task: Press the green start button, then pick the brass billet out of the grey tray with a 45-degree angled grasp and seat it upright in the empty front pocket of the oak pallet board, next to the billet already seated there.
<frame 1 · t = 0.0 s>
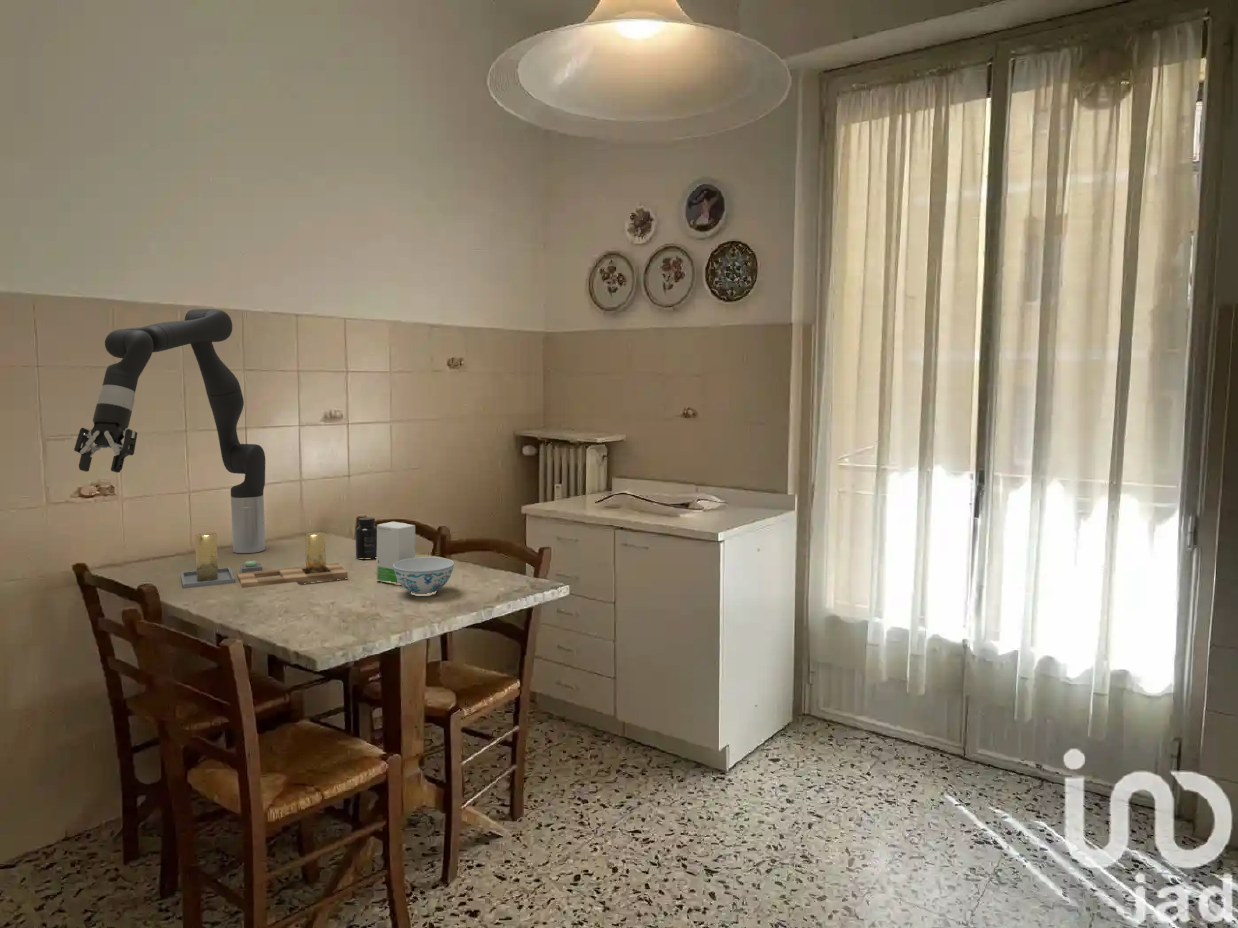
hand: (99, 471, 195), 31 cm above the table, tool tilted 20°, fingers open, 8 cm apart
chinaware: (424, 594, 209), on the table
skincare box: (396, 582, 220), on the table
billet: (207, 579, 216), point 1 cm above the table, touching grey tray
pallet: (292, 579, 220), on the table
button housing: (251, 574, 225), on the table
start button: (251, 563, 224), point 3 cm above the table, slide at 0.0 cm
grey tray: (207, 582, 216), on the table
seated billet: (316, 577, 223), resting in pallet
supplement bottle: (367, 558, 247), on the table
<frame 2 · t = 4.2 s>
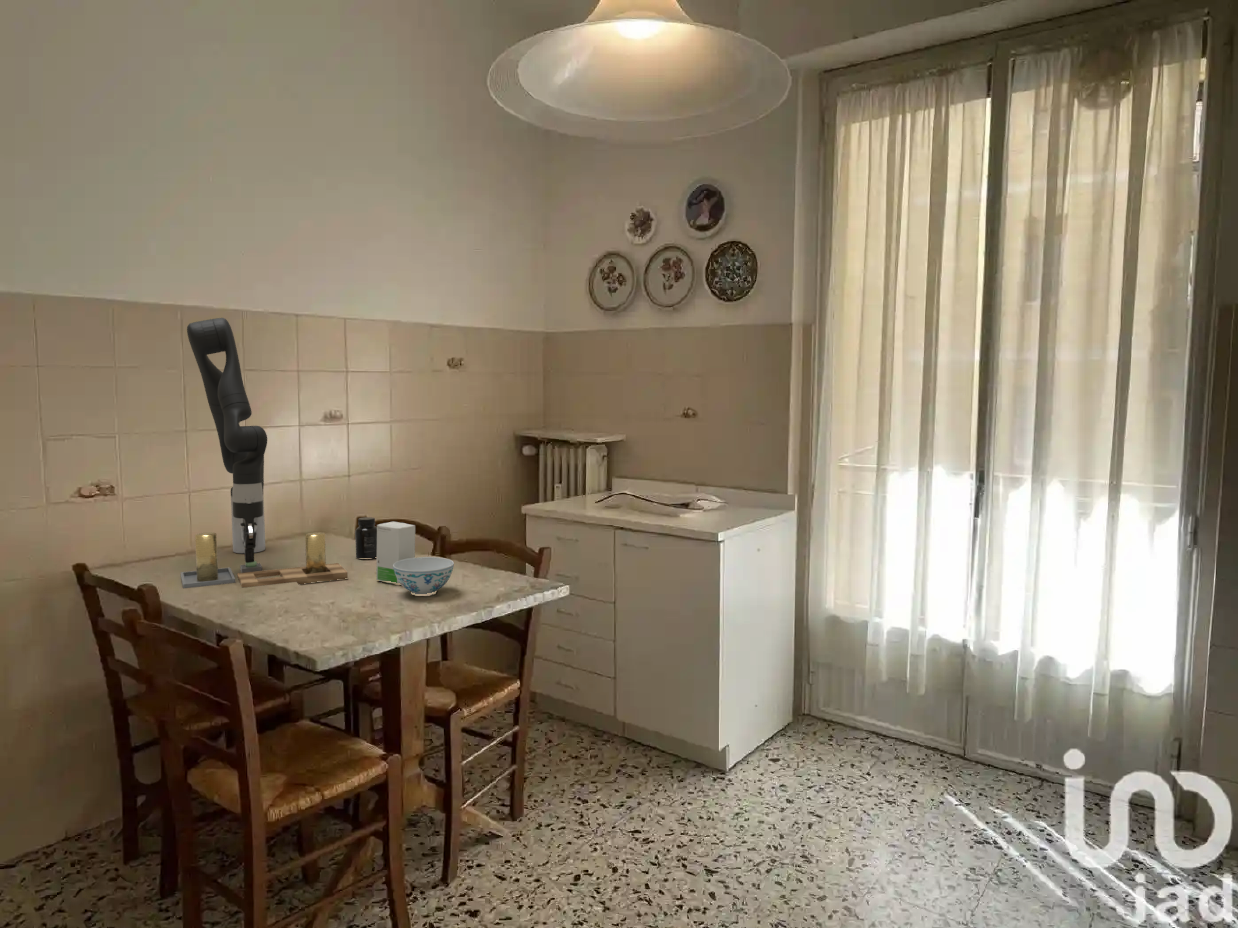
hand: (249, 562, 224), 4 cm above the table, tool pointing down, fingers closed
start button: (251, 563, 224), point 3 cm above the table, slide at 0.0 cm, touching button housing, gripper
everything else where it was.
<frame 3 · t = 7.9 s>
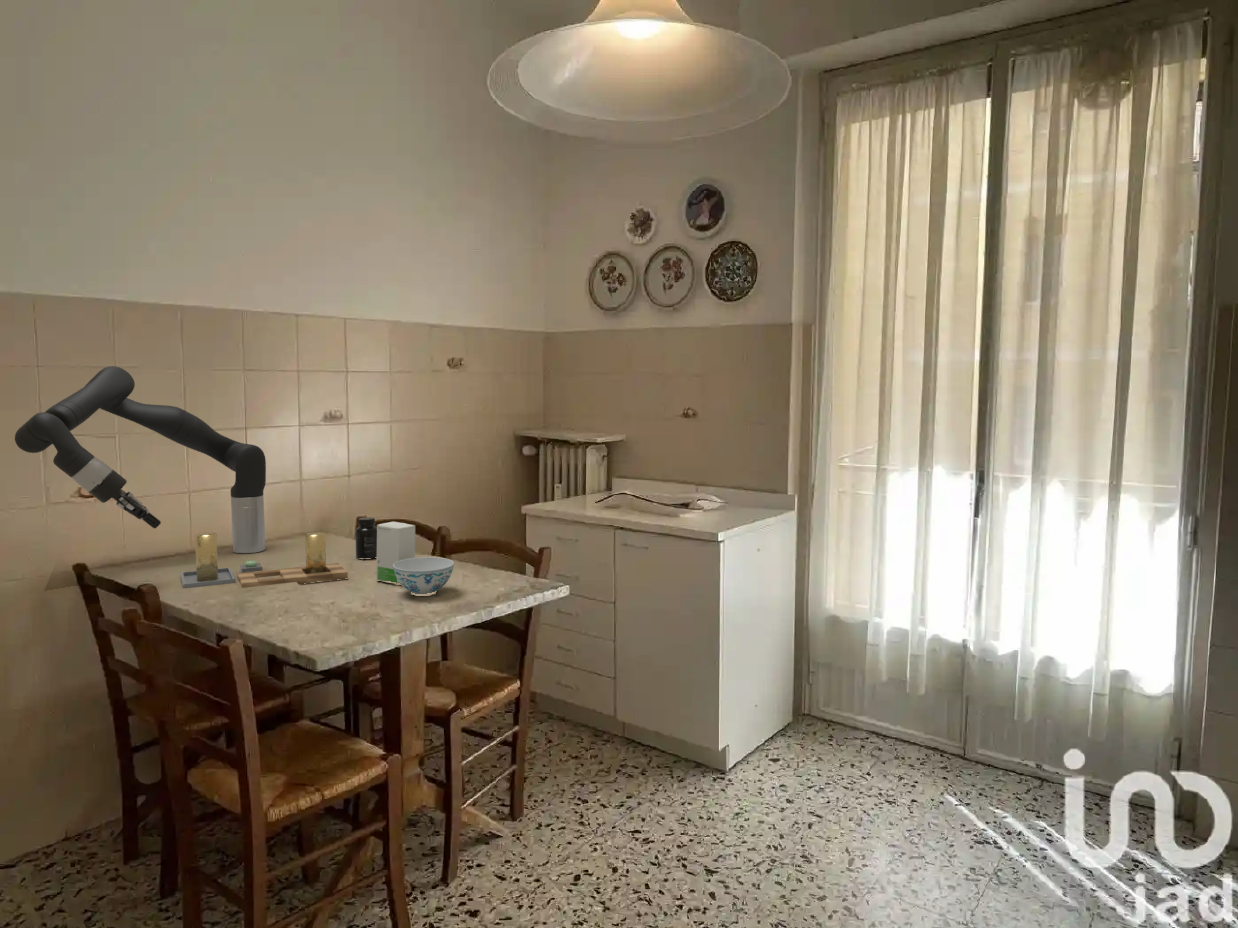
hand: (158, 525, 208), 16 cm above the table, tool tilted 45°, fingers closed
start button: (251, 563, 224), point 3 cm above the table, slide at 0.0 cm, touching button housing
everything else where it was.
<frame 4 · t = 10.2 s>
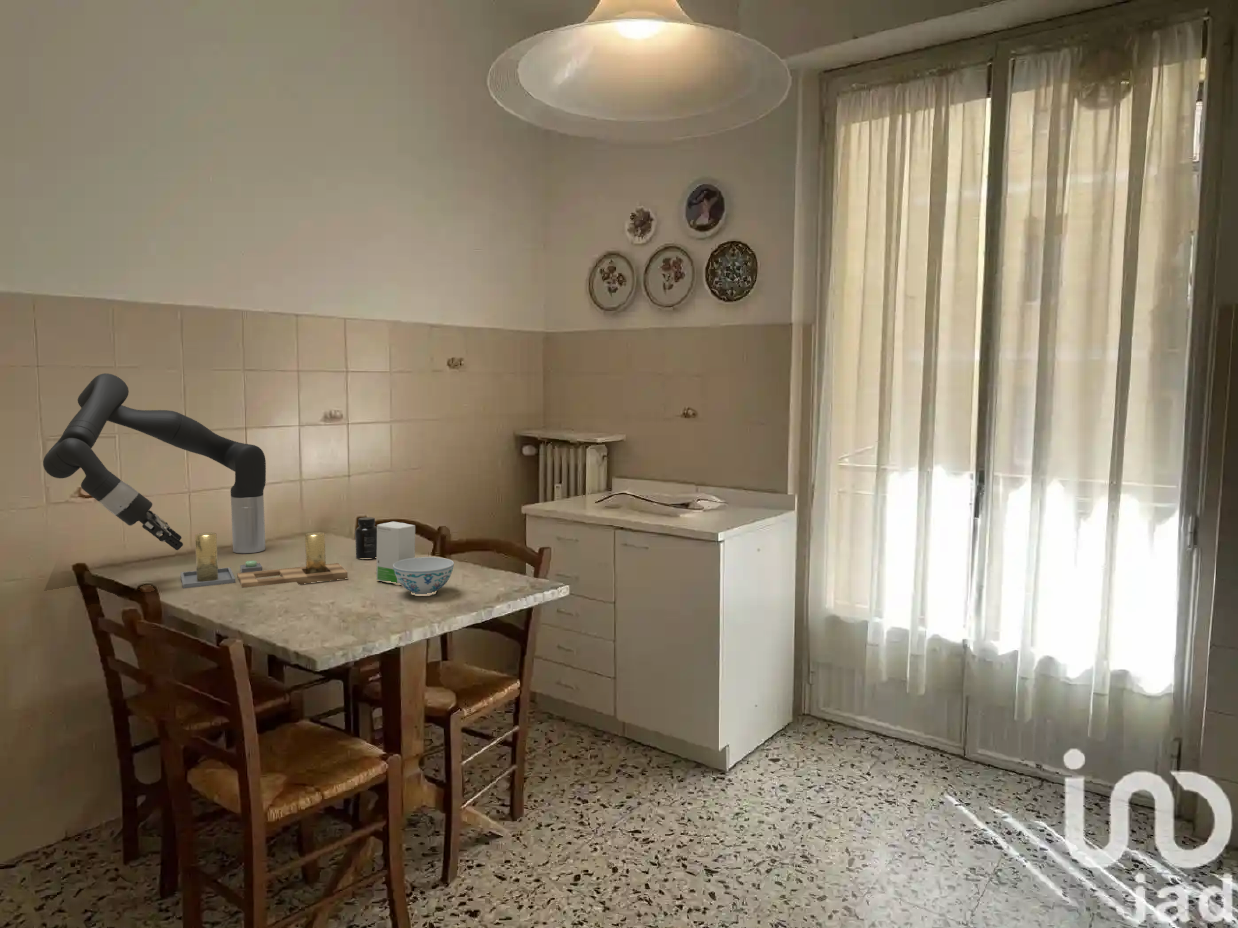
hand: (179, 543, 211), 11 cm above the table, tool tilted 45°, fingers open, 8 cm apart
nothing on the table moved.
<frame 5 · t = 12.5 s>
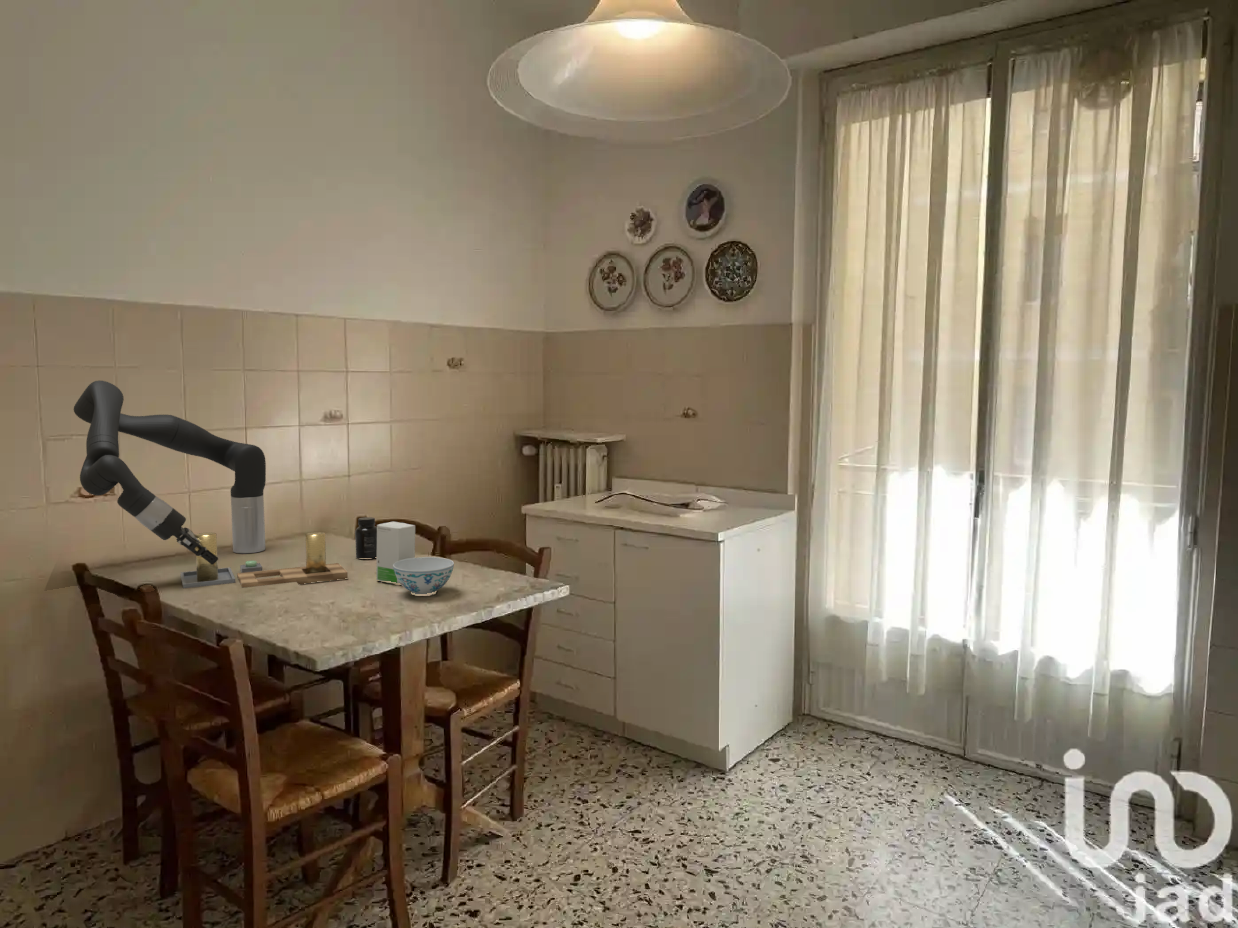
hand: (214, 559, 216), 6 cm above the table, tool tilted 45°, fingers closed on billet, 5 cm apart
billet: (207, 579, 216), point 1 cm above the table, touching gripper, grey tray
everything else where it was.
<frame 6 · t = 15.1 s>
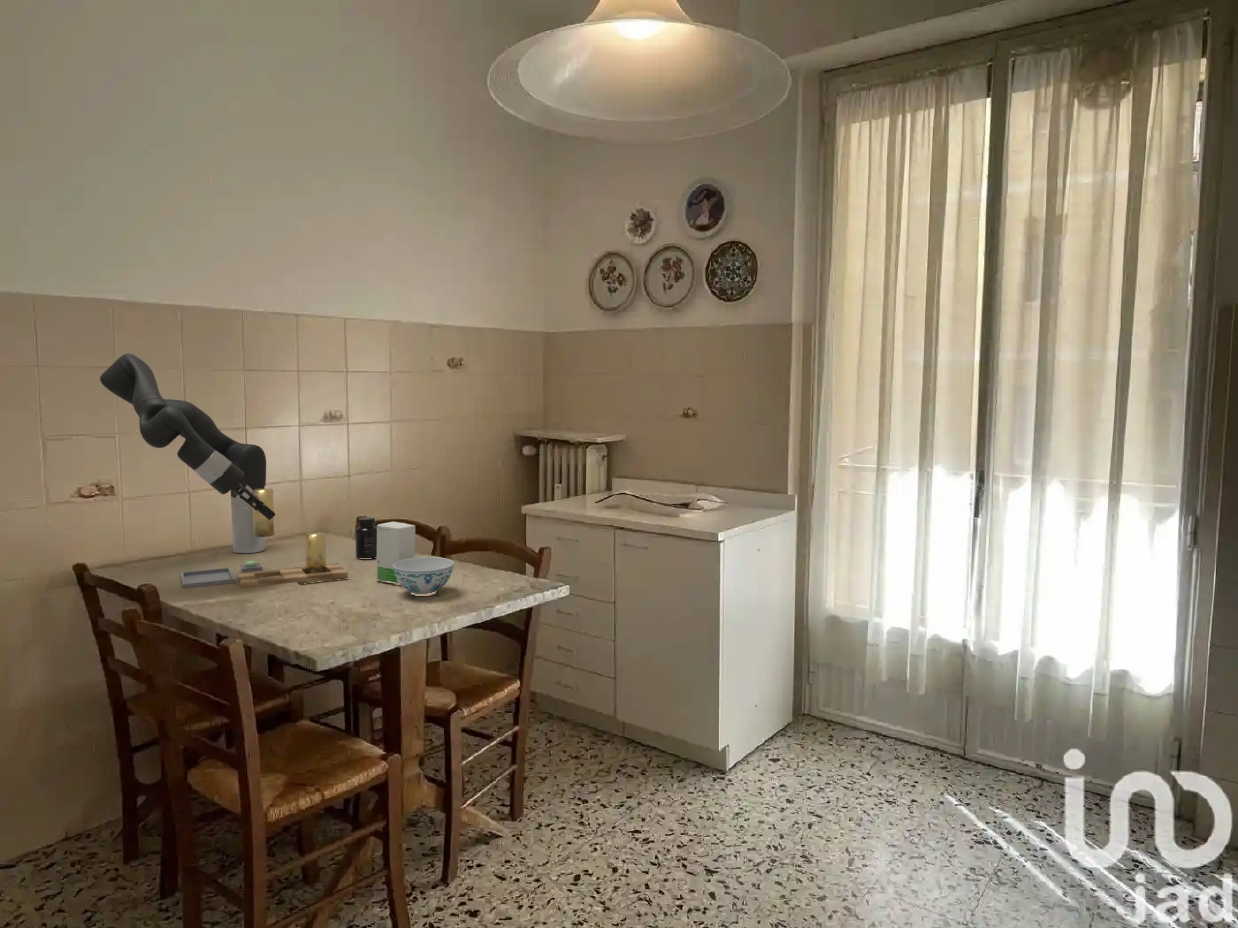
hand: (271, 515, 215), 18 cm above the table, tool tilted 45°, fingers closed on billet, 5 cm apart
billet: (264, 535, 215), point 13 cm above the table, touching gripper
everything else where it was.
when the fingers open (6 cm above the table, at t = 17.8 s): billet drops 1 cm, resting in pallet.
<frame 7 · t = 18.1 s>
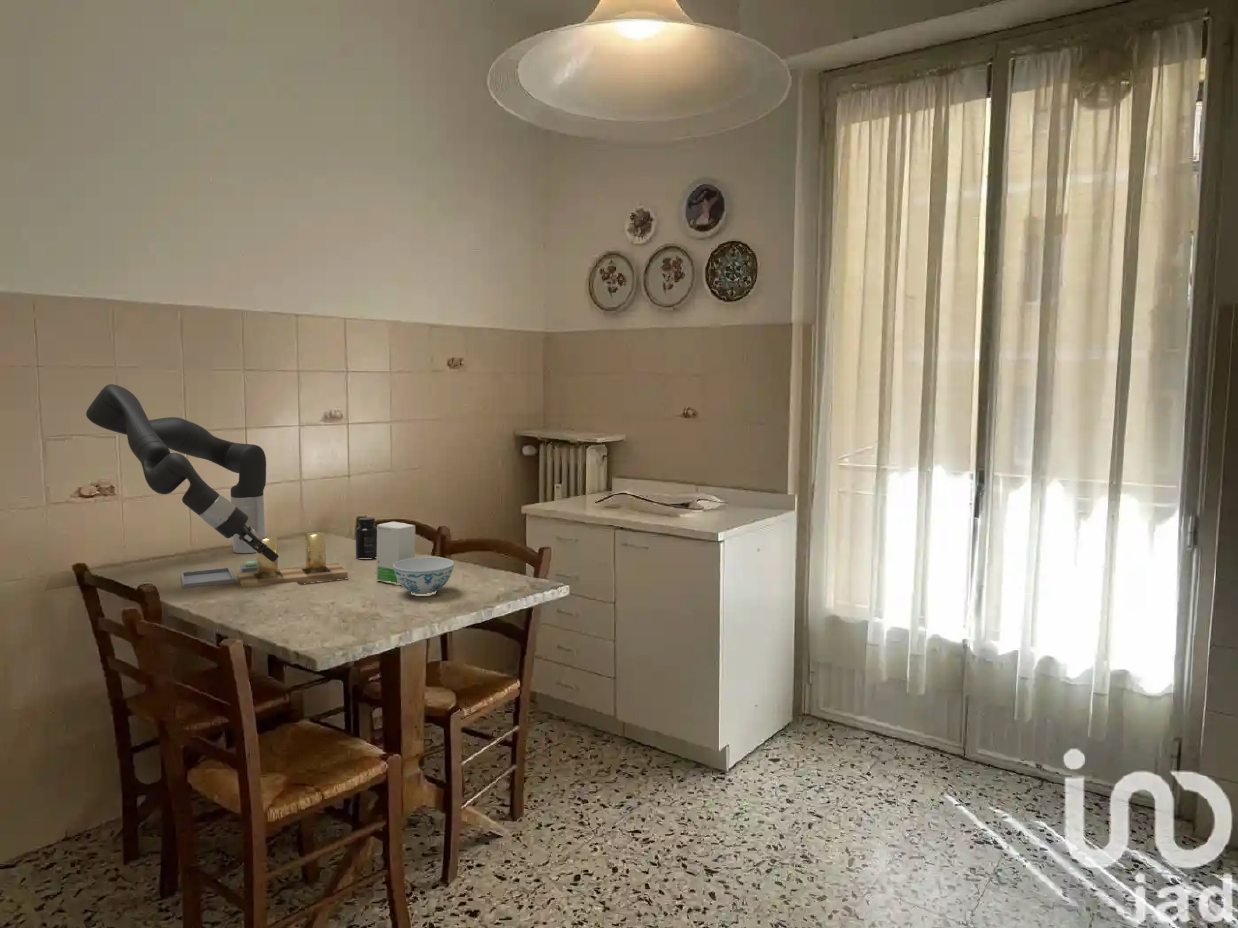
hand: (273, 555, 217), 7 cm above the table, tool tilted 45°, fingers open, 7 cm apart
billet: (268, 582, 217), resting in pallet
everything else where it was.
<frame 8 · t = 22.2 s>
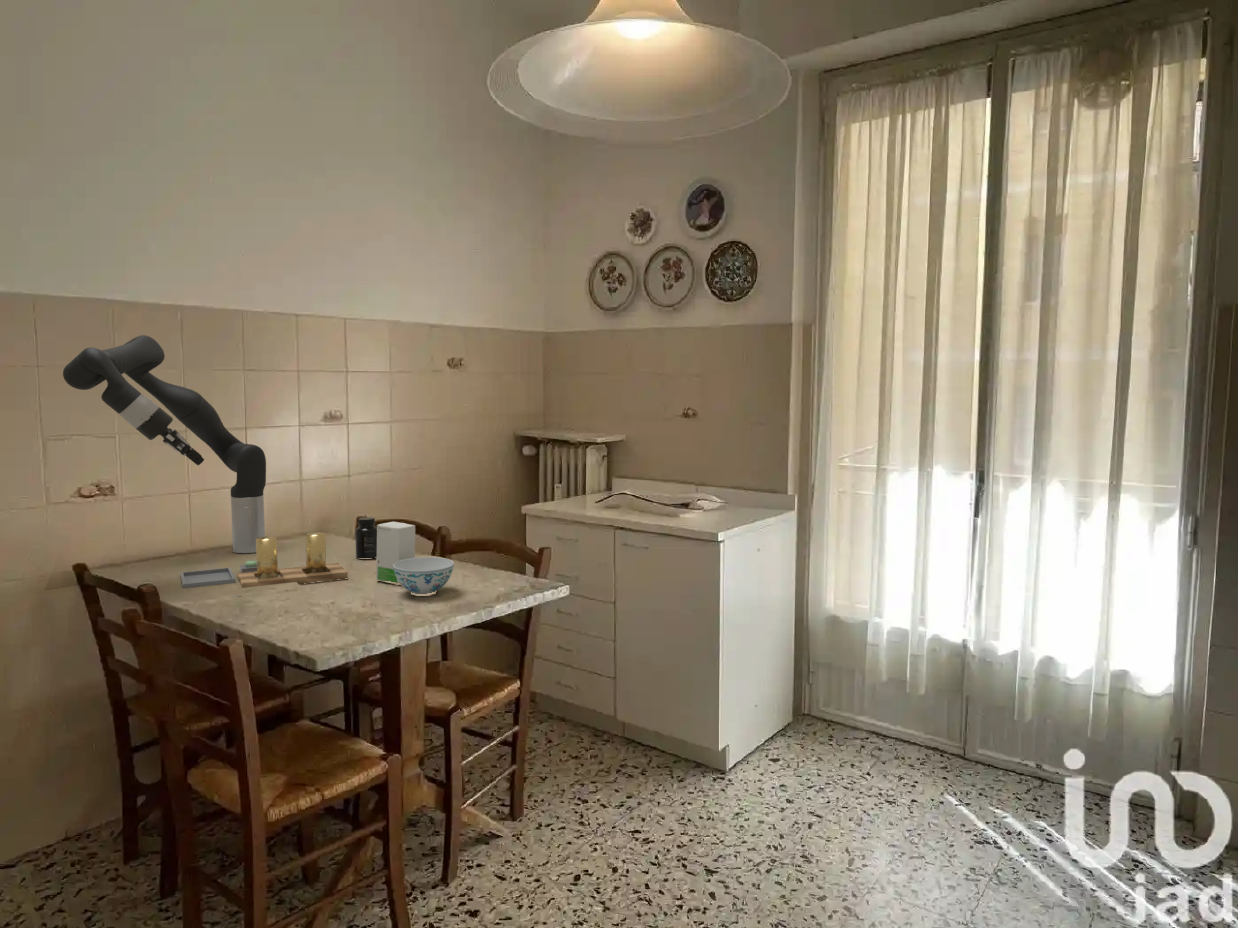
hand: (200, 461, 209), 33 cm above the table, tool tilted 45°, fingers open, 8 cm apart
nothing on the table moved.
at the end: billet 0.2 cm from the target spot on the pallet, point 0.0 cm above the pallet's base; billet tilted 0°; the gripper is holding nothing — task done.
